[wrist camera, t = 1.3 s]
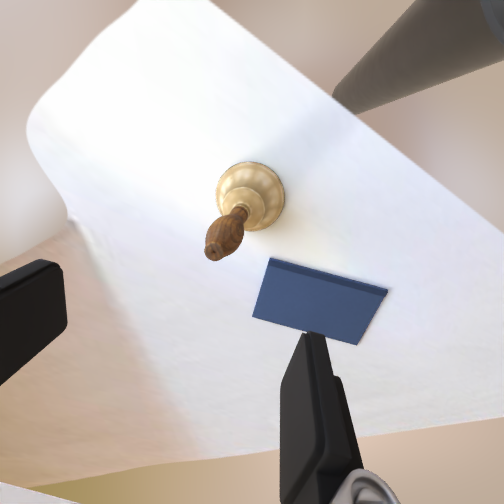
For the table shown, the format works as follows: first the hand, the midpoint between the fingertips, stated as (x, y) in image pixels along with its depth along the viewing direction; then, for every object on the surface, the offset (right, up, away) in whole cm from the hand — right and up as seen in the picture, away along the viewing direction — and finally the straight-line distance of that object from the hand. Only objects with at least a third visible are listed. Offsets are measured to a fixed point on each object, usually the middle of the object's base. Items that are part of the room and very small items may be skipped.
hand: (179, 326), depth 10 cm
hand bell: (+3, +9, +21) cm, 23 cm away
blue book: (+12, -4, +25) cm, 28 cm away
